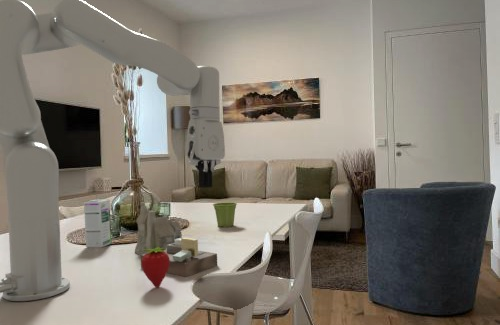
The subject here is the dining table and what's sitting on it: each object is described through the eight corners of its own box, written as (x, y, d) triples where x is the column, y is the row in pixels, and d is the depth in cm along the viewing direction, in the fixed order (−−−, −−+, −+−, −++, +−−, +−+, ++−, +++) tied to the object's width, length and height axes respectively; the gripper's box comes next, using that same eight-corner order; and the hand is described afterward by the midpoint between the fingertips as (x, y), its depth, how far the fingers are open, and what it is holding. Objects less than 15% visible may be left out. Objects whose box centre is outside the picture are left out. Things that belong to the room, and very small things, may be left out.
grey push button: (181, 251, 104) (180, 241, 104) (172, 249, 106) (172, 239, 106) (189, 248, 107) (189, 238, 107) (181, 247, 109) (181, 237, 109)
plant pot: (210, 225, 161) (209, 203, 160) (232, 222, 165) (231, 201, 164) (218, 229, 152) (217, 205, 152) (241, 226, 156) (240, 203, 156)
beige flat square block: (194, 256, 98) (194, 240, 98) (181, 254, 101) (181, 238, 101) (198, 255, 99) (197, 239, 99) (185, 253, 102) (184, 237, 102)
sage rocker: (181, 261, 95) (180, 256, 95) (173, 260, 97) (172, 255, 96) (191, 255, 98) (190, 250, 98) (184, 254, 99) (183, 249, 99)
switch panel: (186, 276, 94) (185, 256, 94) (141, 266, 103) (140, 248, 103) (217, 265, 103) (216, 246, 103) (173, 257, 112) (172, 239, 112)
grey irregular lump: (147, 259, 110) (148, 203, 111) (127, 250, 124) (128, 201, 124) (199, 253, 119) (199, 202, 120) (175, 246, 133) (175, 199, 133)
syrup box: (102, 247, 126) (100, 201, 126) (85, 247, 128) (83, 201, 127) (112, 243, 132) (110, 198, 132) (95, 243, 133) (94, 199, 133)
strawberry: (139, 294, 83) (137, 245, 83) (144, 282, 91) (143, 237, 90) (169, 292, 84) (167, 243, 84) (171, 280, 91) (170, 236, 91)
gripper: (195, 112, 96) (195, 190, 97) (234, 117, 109) (235, 186, 109) (173, 114, 101) (173, 188, 101) (213, 118, 113) (214, 185, 113)
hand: (205, 187), depth 105 cm, fingers closed
